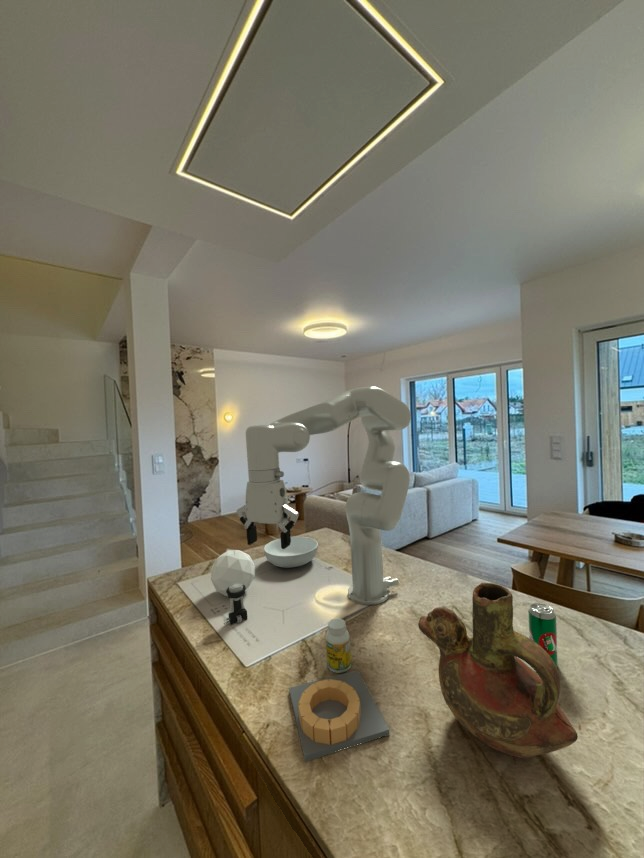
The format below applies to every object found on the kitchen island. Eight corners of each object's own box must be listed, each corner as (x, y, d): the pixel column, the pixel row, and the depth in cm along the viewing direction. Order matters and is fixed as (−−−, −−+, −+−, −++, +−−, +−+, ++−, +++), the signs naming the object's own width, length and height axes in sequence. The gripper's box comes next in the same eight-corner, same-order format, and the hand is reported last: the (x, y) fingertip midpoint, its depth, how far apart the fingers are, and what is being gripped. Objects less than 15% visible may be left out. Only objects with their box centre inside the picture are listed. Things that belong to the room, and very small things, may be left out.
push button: (227, 630, 94) (224, 593, 93) (220, 621, 98) (218, 586, 98) (250, 621, 97) (248, 586, 97) (243, 612, 102) (241, 579, 101)
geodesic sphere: (198, 572, 117) (206, 544, 110) (237, 558, 127) (247, 532, 120) (215, 612, 109) (226, 585, 102) (255, 594, 118) (267, 569, 111)
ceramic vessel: (441, 665, 76) (436, 553, 76) (589, 739, 58) (585, 591, 57) (397, 715, 64) (391, 582, 64) (566, 828, 46) (560, 643, 45)
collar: (348, 686, 71) (347, 674, 71) (369, 732, 60) (368, 718, 60) (294, 700, 68) (294, 687, 68) (307, 752, 57) (306, 737, 57)
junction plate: (358, 674, 75) (358, 669, 75) (389, 734, 61) (389, 729, 61) (289, 692, 71) (289, 687, 71) (305, 761, 57) (305, 755, 57)
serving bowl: (329, 557, 138) (328, 539, 138) (298, 579, 121) (296, 560, 120) (287, 548, 150) (286, 532, 149) (253, 568, 132) (252, 550, 132)
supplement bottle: (355, 661, 79) (352, 619, 79) (344, 677, 75) (342, 633, 74) (334, 654, 82) (331, 614, 82) (322, 669, 77) (320, 627, 77)
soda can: (532, 651, 79) (530, 599, 79) (558, 660, 76) (557, 606, 76) (528, 664, 75) (526, 610, 75) (556, 674, 72) (554, 617, 72)
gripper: (302, 473, 85) (307, 542, 86) (244, 472, 92) (249, 536, 93) (287, 479, 78) (292, 554, 79) (225, 478, 85) (230, 547, 86)
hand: (268, 544), depth 86 cm, fingers open, 9 cm apart
